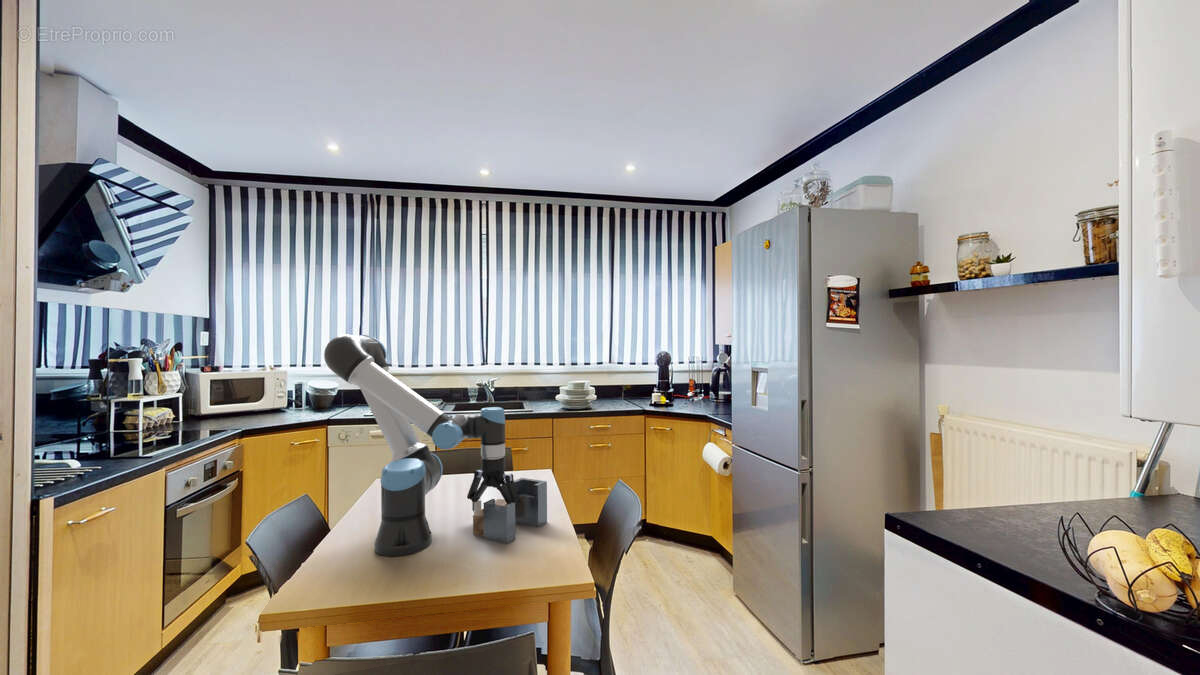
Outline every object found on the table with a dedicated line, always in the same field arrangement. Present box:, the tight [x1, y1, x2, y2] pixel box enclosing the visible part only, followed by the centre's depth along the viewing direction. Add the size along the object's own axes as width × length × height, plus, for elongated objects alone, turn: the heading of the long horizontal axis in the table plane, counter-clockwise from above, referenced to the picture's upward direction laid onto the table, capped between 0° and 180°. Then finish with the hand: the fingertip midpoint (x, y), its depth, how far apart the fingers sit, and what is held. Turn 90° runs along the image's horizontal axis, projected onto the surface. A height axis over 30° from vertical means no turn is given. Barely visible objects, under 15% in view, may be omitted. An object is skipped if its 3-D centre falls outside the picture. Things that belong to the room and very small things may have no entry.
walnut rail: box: [472, 498, 507, 537], centre depth 153 cm, size 5×16×6 cm, turn 164°
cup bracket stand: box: [483, 477, 548, 545], centre depth 149 cm, size 10×20×13 cm, turn 152°
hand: (493, 525), depth 153 cm, fingers open, 12 cm apart
